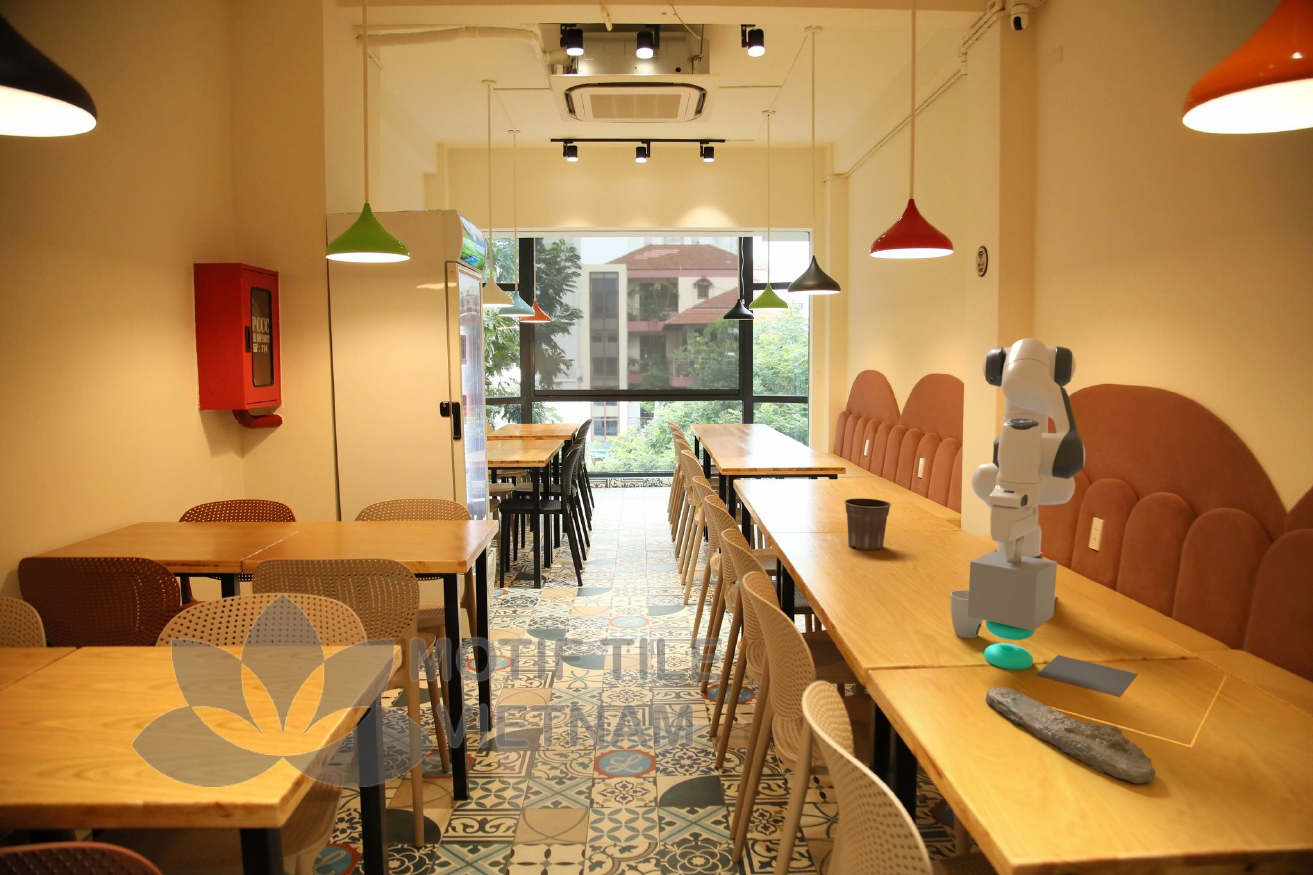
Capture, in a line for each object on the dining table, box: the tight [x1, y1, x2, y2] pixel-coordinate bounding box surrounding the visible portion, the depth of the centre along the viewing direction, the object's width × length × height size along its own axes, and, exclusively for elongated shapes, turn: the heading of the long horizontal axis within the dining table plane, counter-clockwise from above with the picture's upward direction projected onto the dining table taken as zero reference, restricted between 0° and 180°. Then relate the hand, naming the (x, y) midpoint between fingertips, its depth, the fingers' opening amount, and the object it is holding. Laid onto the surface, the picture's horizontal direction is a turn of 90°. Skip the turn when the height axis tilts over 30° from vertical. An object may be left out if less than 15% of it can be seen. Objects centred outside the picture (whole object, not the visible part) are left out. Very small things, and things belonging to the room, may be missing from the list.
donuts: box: [983, 620, 1036, 670], centre depth 179 cm, size 10×10×10 cm
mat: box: [1035, 654, 1139, 698], centre depth 172 cm, size 16×16×1 cm
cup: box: [949, 589, 983, 639], centre depth 197 cm, size 8×8×10 cm
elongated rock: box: [985, 686, 1156, 784], centre depth 144 cm, size 35×5×10 cm
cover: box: [968, 538, 1058, 631], centre depth 177 cm, size 14×14×17 cm
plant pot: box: [844, 497, 892, 551], centre depth 288 cm, size 16×16×16 cm
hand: (1014, 555), depth 177 cm, fingers closed on cover, 3 cm apart
